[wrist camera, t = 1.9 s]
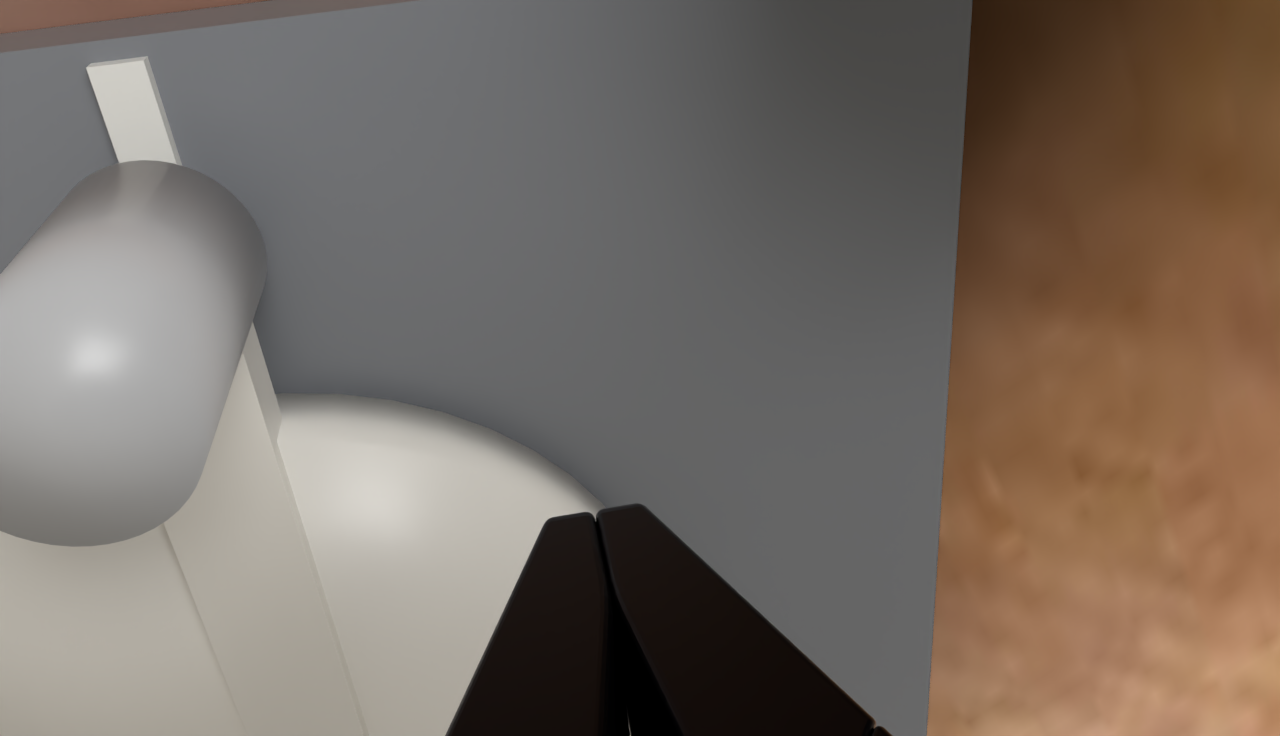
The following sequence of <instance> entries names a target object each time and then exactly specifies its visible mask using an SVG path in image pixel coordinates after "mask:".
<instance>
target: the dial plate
mask: <svg viewBox="0 0 1280 736" xmlns="http://www.w3.org/2000/svg"><path fill="white" fill-rule="evenodd" d="M972 1H973V0H271V1H262V2H254V3H246V4H238V5H230V6H222V7H214V8H206V9H198V10H190V11H182V12H174V13H166V14H157V15H149V16H141V17H133V18H125V19H117V20H109V21H101V22H93V23H85V24H77V25H69V26H61V27H52V28H44V29H36V30H28V31H20V32H12V33H4V34H0V274H1V273H2V272H3V270H4V269H5V268H6V267H7V266H8V264H9V263H10V262H11V261H12V260H13V259H14V257H15V256H16V255H17V254H18V253H19V251H20V250H21V249H22V248H23V247H24V246H25V244H26V243H27V242H28V241H29V240H30V238H31V237H32V236H33V235H34V234H35V233H36V231H37V230H38V229H39V228H40V227H41V225H42V224H43V223H44V222H45V221H46V220H47V218H48V217H49V216H50V215H51V214H52V212H53V211H54V210H55V209H56V208H57V207H58V205H59V204H60V203H61V202H62V201H63V199H64V198H65V197H66V196H67V195H68V194H69V192H70V191H71V190H72V189H73V188H74V187H75V186H76V185H77V184H78V183H79V182H81V181H82V180H83V179H85V178H86V177H88V176H89V175H90V174H92V173H94V172H96V171H98V170H100V169H102V168H105V167H108V166H111V165H114V164H118V163H123V162H128V161H138V160H152V161H162V162H168V163H174V164H177V165H181V166H184V167H188V168H190V169H193V170H195V171H198V172H200V173H202V174H204V175H206V176H208V177H209V178H211V179H213V180H215V181H216V182H218V183H219V184H220V185H222V186H223V187H225V188H226V189H227V190H228V191H230V192H231V193H232V194H233V195H234V196H235V197H236V198H237V199H238V200H239V201H240V202H241V203H242V204H243V205H244V207H245V208H246V209H247V210H248V212H249V213H250V215H251V216H252V218H253V219H254V221H255V223H256V225H257V227H258V229H259V231H260V233H261V236H262V239H263V242H264V246H265V250H266V257H267V273H266V280H265V284H264V288H263V292H262V295H261V298H260V301H259V304H258V307H257V310H256V313H255V316H254V319H253V324H254V327H255V330H256V333H257V337H258V340H259V343H260V347H261V350H262V353H263V356H264V360H265V363H266V366H267V369H268V373H269V376H270V379H271V382H272V386H273V389H274V392H275V394H281V393H303V394H344V395H352V396H361V397H369V398H378V399H386V400H393V401H398V402H402V403H406V404H411V405H415V406H419V407H424V408H428V409H432V410H436V411H441V412H444V413H447V414H450V415H453V416H456V417H459V418H461V419H464V420H467V421H470V422H473V423H475V424H478V425H481V426H484V427H487V428H489V429H492V430H494V431H496V432H498V433H500V434H502V435H504V436H506V437H508V438H510V439H512V440H514V441H516V442H518V443H520V444H522V445H524V446H526V447H528V448H530V449H532V450H534V451H535V452H537V453H538V454H540V455H541V456H543V457H544V458H546V459H547V460H549V461H550V462H552V463H553V464H555V465H556V466H558V467H559V468H561V469H562V470H564V471H565V472H567V473H568V474H570V475H571V476H572V477H573V478H574V479H575V480H577V481H578V482H579V483H580V484H581V485H582V486H583V487H584V488H585V489H587V490H588V491H589V492H590V493H591V494H592V495H593V496H594V497H596V498H597V499H598V500H599V501H600V502H601V503H602V504H603V505H604V506H605V508H610V507H616V506H622V505H628V504H634V503H640V504H642V505H644V506H646V507H647V508H648V509H649V510H650V511H651V512H652V513H653V514H654V515H655V516H656V517H658V518H659V519H660V520H661V521H662V522H663V523H664V524H665V525H666V526H667V527H668V528H669V529H670V530H672V531H673V532H674V533H675V534H676V535H677V536H678V537H679V538H680V539H681V540H682V541H683V542H684V543H686V544H687V545H688V546H689V547H690V548H691V549H692V550H693V551H694V552H695V553H696V554H697V555H698V556H699V557H701V558H702V559H703V560H704V561H705V562H706V563H707V564H708V565H709V566H710V567H711V568H712V569H713V570H715V571H716V572H717V573H718V574H719V575H720V576H721V577H722V578H723V579H724V580H725V581H726V582H727V583H729V584H730V585H731V586H732V587H733V588H734V589H735V590H736V591H737V592H738V593H739V594H740V595H741V596H742V597H744V598H745V599H746V600H747V601H748V602H749V603H750V604H751V605H752V606H753V607H754V608H755V609H756V610H758V611H759V612H760V613H761V614H762V615H763V616H764V617H765V618H766V619H767V620H768V621H769V622H770V623H772V624H773V625H774V626H775V627H776V628H777V629H778V630H779V631H780V632H781V633H782V634H783V635H784V636H786V637H787V638H788V639H789V640H790V641H791V642H792V643H793V644H794V645H795V646H796V647H797V648H798V649H799V650H801V651H802V652H803V653H804V654H805V655H806V656H807V657H808V658H809V659H810V660H811V661H812V662H813V663H815V664H816V665H817V666H818V667H819V668H820V669H821V670H822V671H823V672H824V673H825V674H826V675H827V676H829V677H830V678H831V679H832V680H833V681H834V682H835V683H836V684H837V685H838V686H839V687H840V688H841V689H842V690H844V691H845V692H846V693H847V694H848V695H849V696H850V697H851V698H852V699H853V700H854V701H855V702H856V703H858V704H859V705H860V706H861V707H862V708H863V709H864V710H865V711H866V712H867V713H868V714H869V715H870V716H872V717H873V718H874V720H875V721H876V727H877V726H882V727H884V728H885V729H886V730H887V731H888V732H889V733H890V734H891V735H892V736H927V720H928V704H929V688H930V672H931V656H932V640H933V624H934V608H935V592H936V576H937V560H938V544H939V528H940V512H941V496H942V480H943V464H944V449H945V433H946V417H947V401H948V385H949V369H950V353H951V337H952V321H953V305H954V289H955V273H956V257H957V241H958V225H959V209H960V193H961V177H962V161H963V145H964V129H965V113H966V97H967V81H968V65H969V49H970V33H971V17H972Z"/></svg>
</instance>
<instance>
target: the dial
mask: <svg viewBox="0 0 1280 736" xmlns="http://www.w3.org/2000/svg"><path fill="white" fill-rule="evenodd" d="M266 273H267V257H266V250H265V246H264V242H263V239H262V236H261V233H260V231H259V229H258V227H257V225H256V223H255V221H254V219H253V218H252V216H251V215H250V213H249V212H248V210H247V209H246V208H245V207H244V205H243V204H242V203H241V202H240V201H239V200H238V199H237V198H236V197H235V196H234V195H233V194H232V193H231V192H230V191H228V190H227V189H226V188H225V187H223V186H222V185H220V184H219V183H218V182H216V181H215V180H213V179H211V178H209V177H208V176H206V175H204V174H202V173H200V172H198V171H195V170H193V169H190V168H188V167H184V166H181V165H177V164H174V163H168V162H162V161H152V160H138V161H128V162H123V163H118V164H114V165H111V166H108V167H105V168H102V169H100V170H98V171H96V172H94V173H92V174H90V175H89V176H88V177H86V178H85V179H83V180H82V181H81V182H79V183H78V184H77V185H76V186H75V187H74V188H73V189H72V190H71V191H70V192H69V194H68V195H67V196H66V197H65V198H64V199H63V201H62V202H61V203H60V204H59V205H58V207H57V208H56V209H55V210H54V211H53V212H52V214H51V215H50V216H49V217H48V218H47V220H46V221H45V222H44V223H43V224H42V225H41V227H40V228H39V229H38V230H37V231H36V233H35V234H34V235H33V236H32V237H31V238H30V240H29V241H28V242H27V243H26V244H25V246H24V247H23V248H22V249H21V250H20V251H19V253H18V254H17V255H16V256H15V257H14V259H13V260H12V261H11V262H10V263H9V264H8V266H7V267H6V268H5V269H4V270H3V272H2V273H1V274H0V736H445V735H446V732H447V730H448V728H449V726H450V724H451V722H452V720H453V717H454V715H455V713H456V711H457V709H458V707H459V705H460V702H461V700H462V698H463V696H464V694H465V692H466V690H467V687H468V685H469V683H470V681H471V679H472V677H473V675H474V672H475V670H476V668H477V666H478V664H479V662H480V660H481V657H482V655H483V653H484V651H485V649H486V647H487V645H488V642H489V640H490V638H491V636H492V634H493V632H494V630H495V627H496V625H497V623H498V621H499V619H500V617H501V615H502V612H503V610H504V608H505V606H506V604H507V602H508V600H509V597H510V595H511V593H512V591H513V589H514V587H515V585H516V582H517V580H518V578H519V576H520V574H521V572H522V569H523V567H524V565H525V563H526V561H527V559H528V557H529V554H530V552H531V550H532V548H533V546H534V544H535V542H536V539H537V537H538V535H539V533H540V531H541V529H542V527H543V525H544V523H545V522H546V521H547V520H548V519H549V518H552V517H557V516H563V515H569V514H574V513H580V512H590V513H592V514H593V516H594V517H595V520H596V514H597V512H598V511H599V510H601V509H604V508H605V506H604V505H603V504H602V503H601V502H600V501H599V500H598V499H597V498H596V497H594V496H593V495H592V494H591V493H590V492H589V491H588V490H587V489H585V488H584V487H583V486H582V485H581V484H580V483H579V482H578V481H577V480H575V479H574V478H573V477H572V476H571V475H570V474H568V473H567V472H565V471H564V470H562V469H561V468H559V467H558V466H556V465H555V464H553V463H552V462H550V461H549V460H547V459H546V458H544V457H543V456H541V455H540V454H538V453H537V452H535V451H534V450H532V449H530V448H528V447H526V446H524V445H522V444H520V443H518V442H516V441H514V440H512V439H510V438H508V437H506V436H504V435H502V434H500V433H498V432H496V431H494V430H492V429H489V428H487V427H484V426H481V425H478V424H475V423H473V422H470V421H467V420H464V419H461V418H459V417H456V416H453V415H450V414H447V413H444V412H441V411H436V410H432V409H428V408H424V407H419V406H415V405H411V404H406V403H402V402H398V401H393V400H386V399H378V398H369V397H361V396H352V395H344V394H303V393H281V394H275V392H274V389H273V386H272V382H271V379H270V376H269V373H268V369H267V366H266V363H265V360H264V356H263V353H262V350H261V347H260V343H259V340H258V337H257V333H256V330H255V327H254V324H253V319H254V316H255V313H256V310H257V307H258V304H259V301H260V298H261V295H262V292H263V288H264V284H265V280H266ZM629 730H630V728H629ZM630 736H631V734H630Z"/></svg>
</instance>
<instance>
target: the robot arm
mask: <svg viewBox="0 0 1280 736" xmlns="http://www.w3.org/2000/svg"><path fill="white" fill-rule="evenodd" d="M629 728H630V730H629ZM630 734H631V736H892V735H891V734H890V733H889V732H888V731H887V730H886V729H885V728H884V727H882V726H877V727H876V721H875V720H874V718H873V717H872V716H870V715H869V714H868V713H867V712H866V711H865V710H864V709H863V708H862V707H861V706H860V705H859V704H858V703H856V702H855V701H854V700H853V699H852V698H851V697H850V696H849V695H848V694H847V693H846V692H845V691H844V690H842V689H841V688H840V687H839V686H838V685H837V684H836V683H835V682H834V681H833V680H832V679H831V678H830V677H829V676H827V675H826V674H825V673H824V672H823V671H822V670H821V669H820V668H819V667H818V666H817V665H816V664H815V663H813V662H812V661H811V660H810V659H809V658H808V657H807V656H806V655H805V654H804V653H803V652H802V651H801V650H799V649H798V648H797V647H796V646H795V645H794V644H793V643H792V642H791V641H790V640H789V639H788V638H787V637H786V636H784V635H783V634H782V633H781V632H780V631H779V630H778V629H777V628H776V627H775V626H774V625H773V624H772V623H770V622H769V621H768V620H767V619H766V618H765V617H764V616H763V615H762V614H761V613H760V612H759V611H758V610H756V609H755V608H754V607H753V606H752V605H751V604H750V603H749V602H748V601H747V600H746V599H745V598H744V597H742V596H741V595H740V594H739V593H738V592H737V591H736V590H735V589H734V588H733V587H732V586H731V585H730V584H729V583H727V582H726V581H725V580H724V579H723V578H722V577H721V576H720V575H719V574H718V573H717V572H716V571H715V570H713V569H712V568H711V567H710V566H709V565H708V564H707V563H706V562H705V561H704V560H703V559H702V558H701V557H699V556H698V555H697V554H696V553H695V552H694V551H693V550H692V549H691V548H690V547H689V546H688V545H687V544H686V543H684V542H683V541H682V540H681V539H680V538H679V537H678V536H677V535H676V534H675V533H674V532H673V531H672V530H670V529H669V528H668V527H667V526H666V525H665V524H664V523H663V522H662V521H661V520H660V519H659V518H658V517H656V516H655V515H654V514H653V513H652V512H651V511H650V510H649V509H648V508H647V507H646V506H644V505H642V504H640V503H634V504H628V505H622V506H616V507H610V508H604V509H601V510H599V511H598V512H597V514H596V520H595V517H594V516H593V514H592V513H590V512H580V513H574V514H569V515H563V516H557V517H552V518H549V519H548V520H547V521H546V522H545V523H544V525H543V527H542V529H541V531H540V533H539V535H538V537H537V539H536V542H535V544H534V546H533V548H532V550H531V552H530V554H529V557H528V559H527V561H526V563H525V565H524V567H523V569H522V572H521V574H520V576H519V578H518V580H517V582H516V585H515V587H514V589H513V591H512V593H511V595H510V597H509V600H508V602H507V604H506V606H505V608H504V610H503V612H502V615H501V617H500V619H499V621H498V623H497V625H496V627H495V630H494V632H493V634H492V636H491V638H490V640H489V642H488V645H487V647H486V649H485V651H484V653H483V655H482V657H481V660H480V662H479V664H478V666H477V668H476V670H475V672H474V675H473V677H472V679H471V681H470V683H469V685H468V687H467V690H466V692H465V694H464V696H463V698H462V700H461V702H460V705H459V707H458V709H457V711H456V713H455V715H454V717H453V720H452V722H451V724H450V726H449V728H448V730H447V732H446V735H445V736H630Z"/></svg>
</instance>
